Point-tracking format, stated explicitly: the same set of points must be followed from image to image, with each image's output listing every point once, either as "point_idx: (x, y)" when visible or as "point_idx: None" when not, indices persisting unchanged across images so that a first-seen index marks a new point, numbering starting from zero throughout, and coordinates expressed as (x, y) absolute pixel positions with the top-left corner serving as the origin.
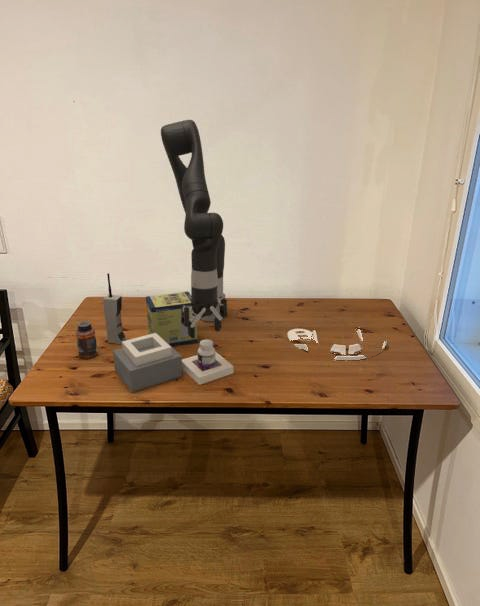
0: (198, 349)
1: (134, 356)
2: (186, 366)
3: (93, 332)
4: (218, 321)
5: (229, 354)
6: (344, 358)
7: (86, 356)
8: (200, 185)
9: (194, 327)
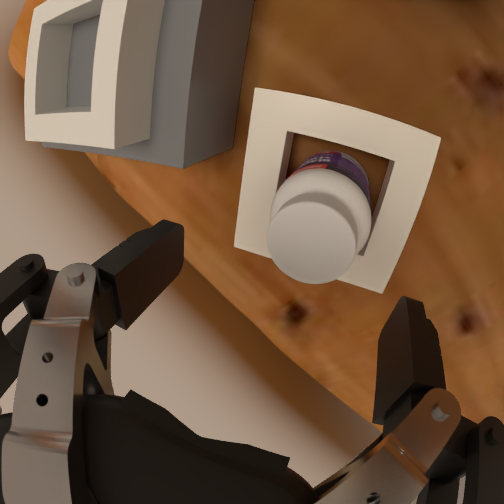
0: (284, 188)
1: (26, 129)
2: (248, 145)
3: None
4: (375, 421)
5: (483, 179)
6: None
7: None
8: None
9: (124, 327)
